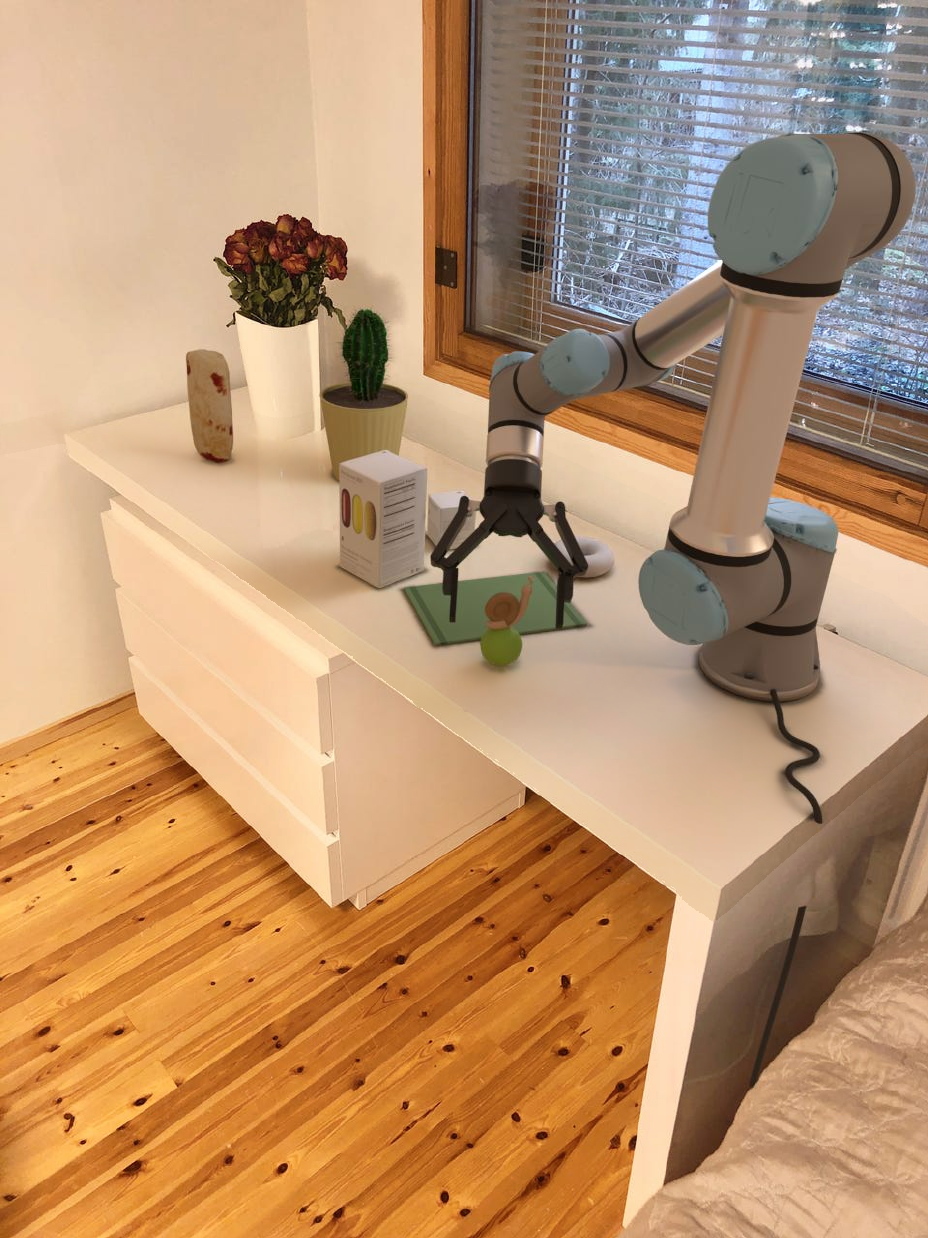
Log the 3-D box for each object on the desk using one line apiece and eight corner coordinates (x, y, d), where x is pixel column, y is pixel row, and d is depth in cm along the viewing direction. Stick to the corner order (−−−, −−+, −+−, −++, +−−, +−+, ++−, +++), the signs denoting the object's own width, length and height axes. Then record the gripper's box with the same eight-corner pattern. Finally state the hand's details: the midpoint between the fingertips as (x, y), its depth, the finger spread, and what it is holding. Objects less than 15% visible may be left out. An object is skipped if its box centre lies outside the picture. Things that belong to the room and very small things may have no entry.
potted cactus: (328, 455, 196) (324, 292, 181) (410, 460, 196) (413, 297, 181) (314, 488, 182) (310, 314, 167) (402, 493, 182) (405, 320, 167)
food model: (184, 455, 193) (173, 348, 183) (212, 446, 197) (204, 341, 187) (218, 470, 188) (209, 360, 177) (247, 460, 192) (240, 352, 182)
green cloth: (586, 625, 145) (586, 623, 145) (435, 645, 139) (435, 643, 139) (543, 573, 158) (543, 571, 158) (403, 589, 152) (403, 587, 152)
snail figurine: (534, 668, 135) (542, 587, 129) (488, 676, 133) (494, 594, 127) (517, 647, 139) (524, 567, 133) (472, 655, 137) (477, 574, 131)
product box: (426, 535, 168) (427, 493, 164) (461, 530, 170) (463, 489, 166) (438, 551, 163) (440, 508, 159) (474, 546, 165) (477, 504, 161)
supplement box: (337, 567, 157) (336, 461, 149) (383, 549, 163) (384, 447, 154) (379, 590, 151) (380, 482, 143) (426, 571, 157) (429, 466, 149)
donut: (544, 577, 157) (610, 585, 156) (545, 557, 156) (612, 564, 154) (552, 549, 166) (615, 556, 164) (554, 529, 164) (617, 536, 163)
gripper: (604, 484, 141) (600, 635, 136) (420, 473, 141) (409, 624, 136) (612, 461, 134) (608, 621, 129) (418, 450, 134) (406, 609, 129)
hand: (505, 623), depth 132 cm, fingers open, 13 cm apart
